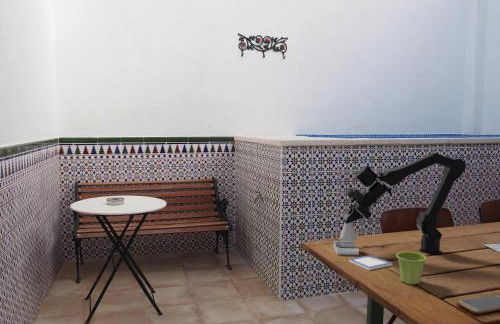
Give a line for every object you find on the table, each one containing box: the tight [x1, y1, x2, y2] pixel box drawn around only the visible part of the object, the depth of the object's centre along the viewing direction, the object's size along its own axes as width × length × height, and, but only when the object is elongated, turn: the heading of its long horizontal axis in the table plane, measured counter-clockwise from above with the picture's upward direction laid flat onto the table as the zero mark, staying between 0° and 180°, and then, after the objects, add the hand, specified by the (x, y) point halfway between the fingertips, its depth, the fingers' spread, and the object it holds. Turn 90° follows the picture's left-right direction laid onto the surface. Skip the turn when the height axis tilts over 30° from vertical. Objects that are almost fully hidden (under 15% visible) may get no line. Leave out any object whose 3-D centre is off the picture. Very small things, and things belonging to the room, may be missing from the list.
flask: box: [338, 213, 358, 242], centre depth 188 cm, size 7×7×10 cm
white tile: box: [348, 254, 393, 271], centre depth 173 cm, size 11×11×1 cm
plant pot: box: [396, 251, 427, 285], centre depth 154 cm, size 9×9×9 cm
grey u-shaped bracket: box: [333, 240, 360, 256], centre depth 189 cm, size 8×11×3 cm
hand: (344, 221), depth 188 cm, fingers closed on flask, 3 cm apart
